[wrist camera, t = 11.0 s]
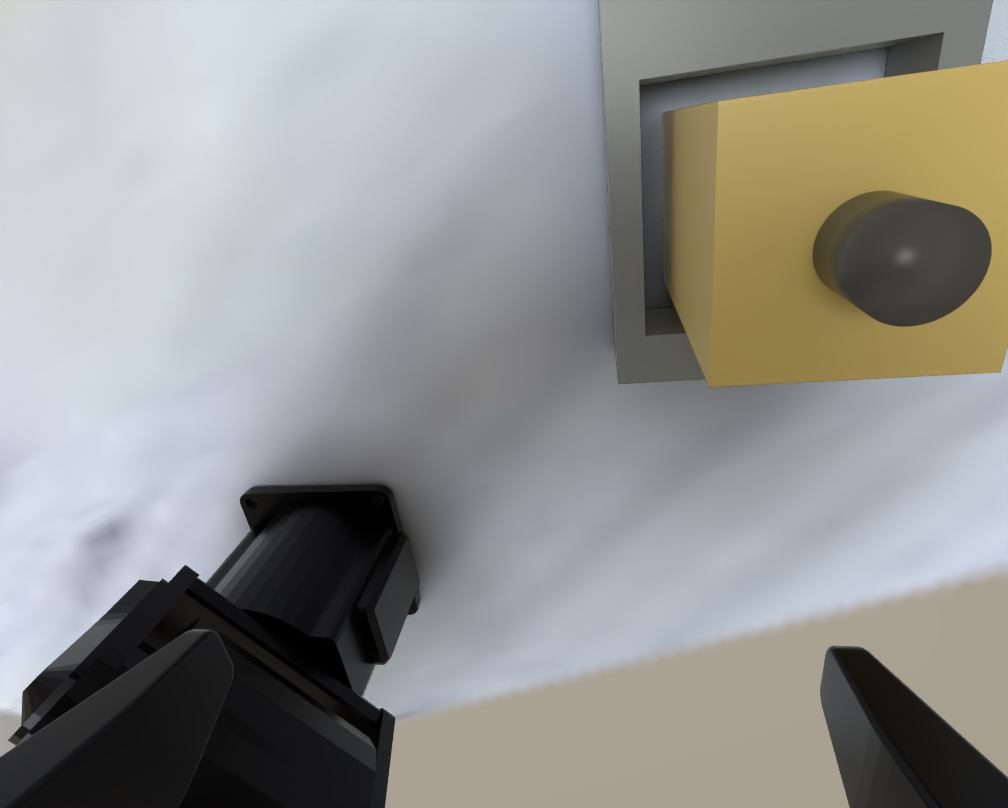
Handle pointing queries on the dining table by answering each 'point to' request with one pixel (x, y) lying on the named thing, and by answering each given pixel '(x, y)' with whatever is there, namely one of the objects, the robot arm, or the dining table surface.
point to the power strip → (722, 48)
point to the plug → (842, 229)
